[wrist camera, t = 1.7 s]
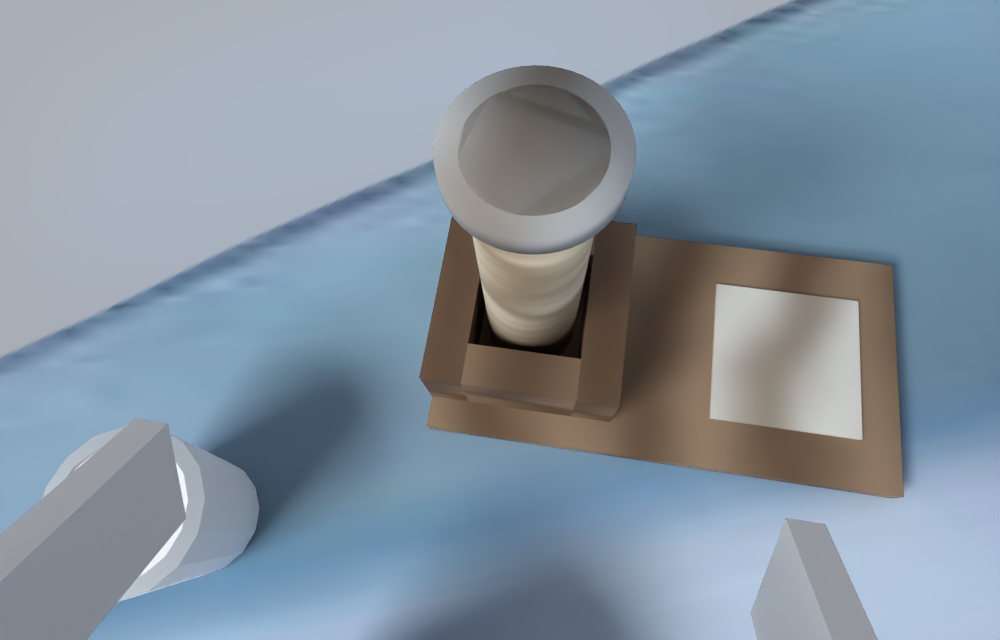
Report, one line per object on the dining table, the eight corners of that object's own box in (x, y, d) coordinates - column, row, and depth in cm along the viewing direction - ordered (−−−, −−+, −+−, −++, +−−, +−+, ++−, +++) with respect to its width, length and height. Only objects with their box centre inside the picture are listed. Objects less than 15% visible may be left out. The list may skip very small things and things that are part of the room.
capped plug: (592, 282, 34) (644, 75, 19) (580, 386, 32) (626, 251, 17) (486, 268, 34) (452, 57, 19) (468, 370, 32) (415, 225, 17)
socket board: (882, 272, 34) (938, 230, 29) (892, 498, 30) (958, 491, 26) (468, 223, 36) (459, 176, 32) (429, 428, 32) (412, 410, 28)
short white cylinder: (163, 617, 30) (60, 640, 23) (119, 490, 32) (12, 478, 26) (293, 542, 31) (228, 544, 24) (241, 423, 33) (169, 394, 26)
